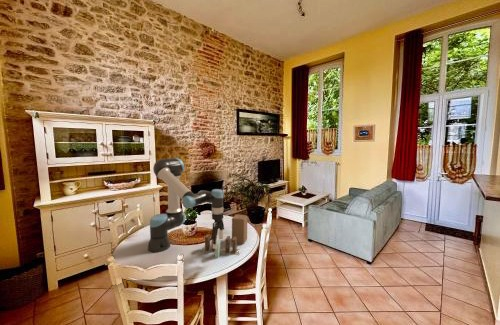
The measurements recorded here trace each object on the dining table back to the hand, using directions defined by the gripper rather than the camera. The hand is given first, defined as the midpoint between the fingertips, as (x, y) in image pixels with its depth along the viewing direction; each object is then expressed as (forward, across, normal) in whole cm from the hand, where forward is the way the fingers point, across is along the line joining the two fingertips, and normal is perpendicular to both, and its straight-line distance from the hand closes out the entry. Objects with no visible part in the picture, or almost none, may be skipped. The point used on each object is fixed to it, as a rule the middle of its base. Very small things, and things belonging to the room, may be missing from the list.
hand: (218, 243), depth 142 cm
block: (+10, +25, -10) cm, 28 cm away
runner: (+9, +8, 0) cm, 12 cm away
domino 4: (+9, +8, -10) cm, 15 cm away
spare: (+9, 0, 0) cm, 9 cm away
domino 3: (+9, +8, -4) cm, 13 cm away
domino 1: (+9, +8, +10) cm, 16 cm away
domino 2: (+9, +8, +6) cm, 13 cm away
